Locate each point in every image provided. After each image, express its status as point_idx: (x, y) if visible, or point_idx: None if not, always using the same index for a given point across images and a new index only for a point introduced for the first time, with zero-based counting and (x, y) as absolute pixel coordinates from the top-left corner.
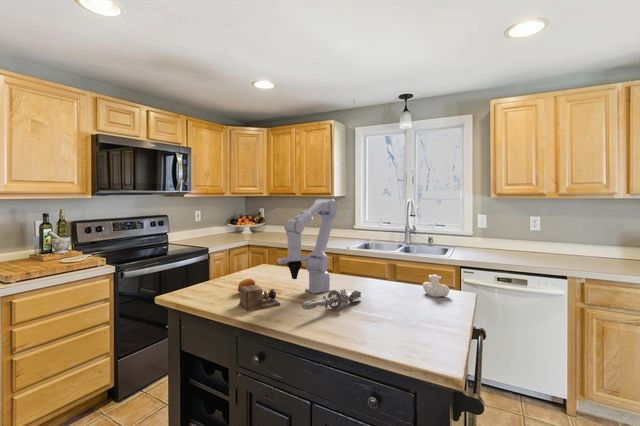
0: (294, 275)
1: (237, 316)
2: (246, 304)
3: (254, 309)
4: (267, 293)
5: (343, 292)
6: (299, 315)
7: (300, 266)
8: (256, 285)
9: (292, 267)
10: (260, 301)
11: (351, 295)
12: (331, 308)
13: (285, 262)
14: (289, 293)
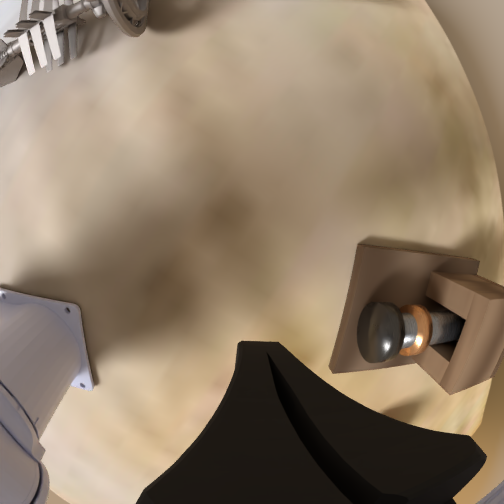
0: (295, 361)
1: (498, 233)
2: (484, 278)
3: (456, 256)
4: (426, 318)
5: (27, 23)
6: (346, 54)
7: (191, 466)
8: (460, 380)
9: (427, 432)
10: (451, 277)
11: (3, 49)
12: (146, 22)
13: (491, 501)
14: (199, 388)
